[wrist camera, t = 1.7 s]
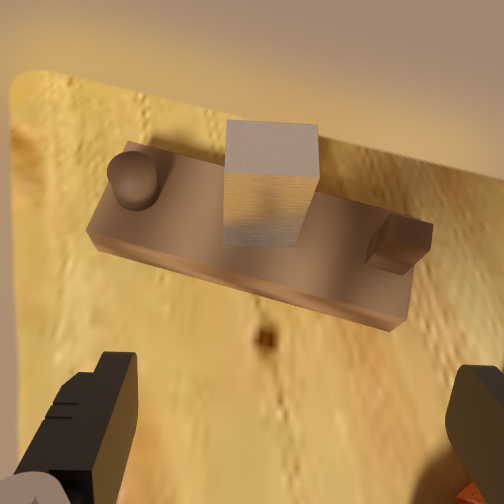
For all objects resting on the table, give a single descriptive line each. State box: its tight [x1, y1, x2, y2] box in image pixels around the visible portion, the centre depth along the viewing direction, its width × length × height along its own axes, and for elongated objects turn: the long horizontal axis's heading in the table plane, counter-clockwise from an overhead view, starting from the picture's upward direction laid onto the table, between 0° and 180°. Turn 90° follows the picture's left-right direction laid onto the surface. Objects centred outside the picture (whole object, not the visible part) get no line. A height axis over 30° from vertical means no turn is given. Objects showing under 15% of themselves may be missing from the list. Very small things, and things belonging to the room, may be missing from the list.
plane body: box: [86, 141, 433, 332], centre depth 29 cm, size 20×7×7 cm, turn 75°
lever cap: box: [223, 120, 320, 248], centre depth 25 cm, size 4×3×8 cm
